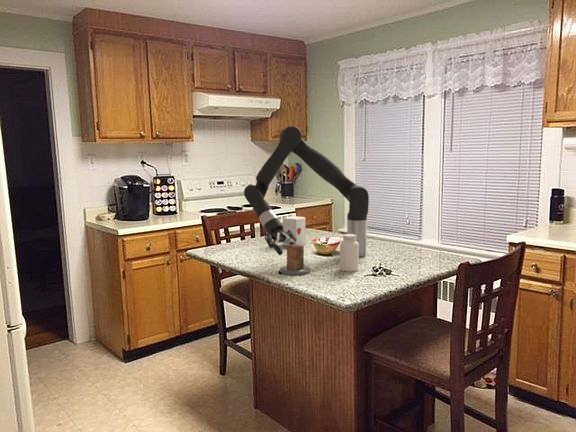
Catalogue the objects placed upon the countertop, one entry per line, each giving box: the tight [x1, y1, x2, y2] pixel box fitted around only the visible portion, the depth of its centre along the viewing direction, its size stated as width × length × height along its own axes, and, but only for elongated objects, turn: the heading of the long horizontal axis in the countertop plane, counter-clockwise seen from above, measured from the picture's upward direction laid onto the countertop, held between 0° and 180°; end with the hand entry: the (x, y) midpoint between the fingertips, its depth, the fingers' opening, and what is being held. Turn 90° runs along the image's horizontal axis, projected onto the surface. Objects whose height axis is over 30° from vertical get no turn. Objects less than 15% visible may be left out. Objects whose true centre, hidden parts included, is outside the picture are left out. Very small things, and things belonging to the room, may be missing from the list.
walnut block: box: [286, 244, 305, 271], centre depth 201 cm, size 5×5×10 cm
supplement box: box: [282, 215, 306, 247], centre depth 253 cm, size 9×9×15 cm
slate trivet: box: [279, 265, 312, 276], centre depth 201 cm, size 13×13×1 cm
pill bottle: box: [339, 233, 360, 273], centre depth 202 cm, size 8×8×15 cm
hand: (288, 252), depth 203 cm, fingers open, 8 cm apart
